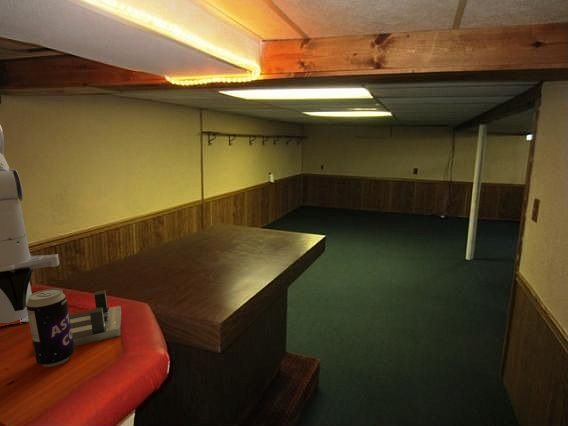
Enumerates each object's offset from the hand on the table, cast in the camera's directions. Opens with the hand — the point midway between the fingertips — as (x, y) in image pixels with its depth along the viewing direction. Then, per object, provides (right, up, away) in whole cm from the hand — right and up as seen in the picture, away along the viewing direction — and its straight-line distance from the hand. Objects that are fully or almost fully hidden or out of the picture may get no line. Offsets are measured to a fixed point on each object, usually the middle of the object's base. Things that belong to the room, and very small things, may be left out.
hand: (20, 308), depth 70 cm
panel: (+9, -6, +5) cm, 12 cm away
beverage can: (+10, -8, -5) cm, 14 cm away
